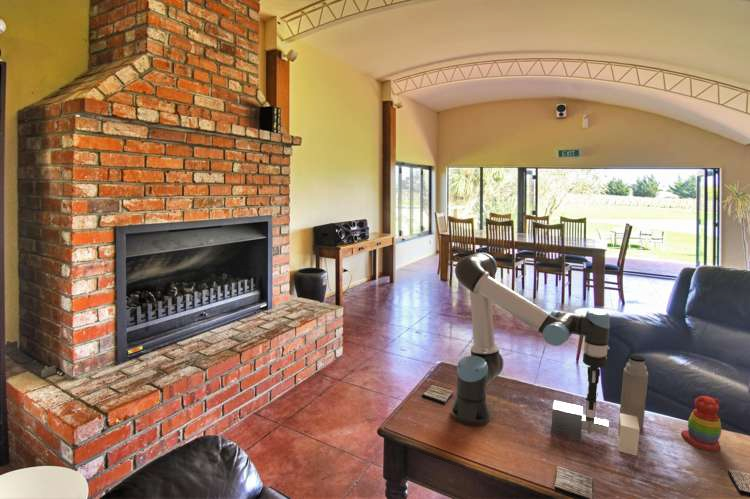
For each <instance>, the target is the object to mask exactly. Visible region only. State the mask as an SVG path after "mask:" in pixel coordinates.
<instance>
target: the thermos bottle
mask: <svg viewBox="0 0 750 499" xmlns="http://www.w3.org/2000/svg"><path fill="white" fill-rule="evenodd" d="M645 360H646V358H645V357H644V356H642V355H638V354H637V355H636V354H631V355H629V361H628V362H626V365H625V367H624V368H623V372H622V373H623V376H622V383H621V384H622V387H621V396H620V405H619V414H620V413H622V414H627V415H632V416H636V417H637V418H638V424H639V429H640V431H639V432H641V431H642V430H643V429H644V422H645V411H646V398H647V393H648V392H647V391H648V384H649V383H648V382H649V372H648V368H647V366H646V365H645Z"/></svg>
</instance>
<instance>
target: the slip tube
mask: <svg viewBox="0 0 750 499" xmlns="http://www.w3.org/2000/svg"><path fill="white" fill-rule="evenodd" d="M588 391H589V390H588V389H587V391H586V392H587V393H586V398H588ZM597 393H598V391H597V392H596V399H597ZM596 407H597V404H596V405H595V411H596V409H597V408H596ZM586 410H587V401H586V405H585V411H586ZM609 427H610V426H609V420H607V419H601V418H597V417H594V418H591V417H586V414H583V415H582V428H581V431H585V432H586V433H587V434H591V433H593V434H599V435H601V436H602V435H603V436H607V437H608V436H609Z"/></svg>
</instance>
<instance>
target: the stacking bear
mask: <svg viewBox="0 0 750 499" xmlns="http://www.w3.org/2000/svg"><path fill="white" fill-rule="evenodd" d="M719 403H720V400H719V399H718V398H713V397H711V396H708V395H700V396H698V397H696V398H695V399H694V405H695V408H694V409H693V410H692V412H691V413H690V416H689V418H688V421H687V429H688V430H687V429H685V430H682V431H681V432H680V434H681V436H682V438H683V439H684V440H685V442H687V443H689V444H691V446H692V445H693V446H694V447H696V448H699V449H701V450H704V451H709V452H710V451H712V452H713V451H717V450H718V449H719V448H720V442H719V439H720V437H721V435H722V423H721V419H720V417H719V415H718V413H719V411H720V405H719Z"/></svg>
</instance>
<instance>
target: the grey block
mask: <svg viewBox="0 0 750 499" xmlns="http://www.w3.org/2000/svg"><path fill="white" fill-rule="evenodd" d="M583 409H584V406H583V405H582V406H581V405H577V404H574V403H573V404H572V403H569V402H568V403H567V402H564V401H559V400H556V399H555V400H553V404H552V411H551V413H552V414H551V415H552V416H551V425H550V426H551V429H550V430H551V431H550V433H551V434H555V435H557V436H562V437H563V436H564V437H567V438H571V439H575V440H579V441H581V439H582V438H581V437H582V430H581V428H582V415H584V414H583V412H584V410H583Z"/></svg>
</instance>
